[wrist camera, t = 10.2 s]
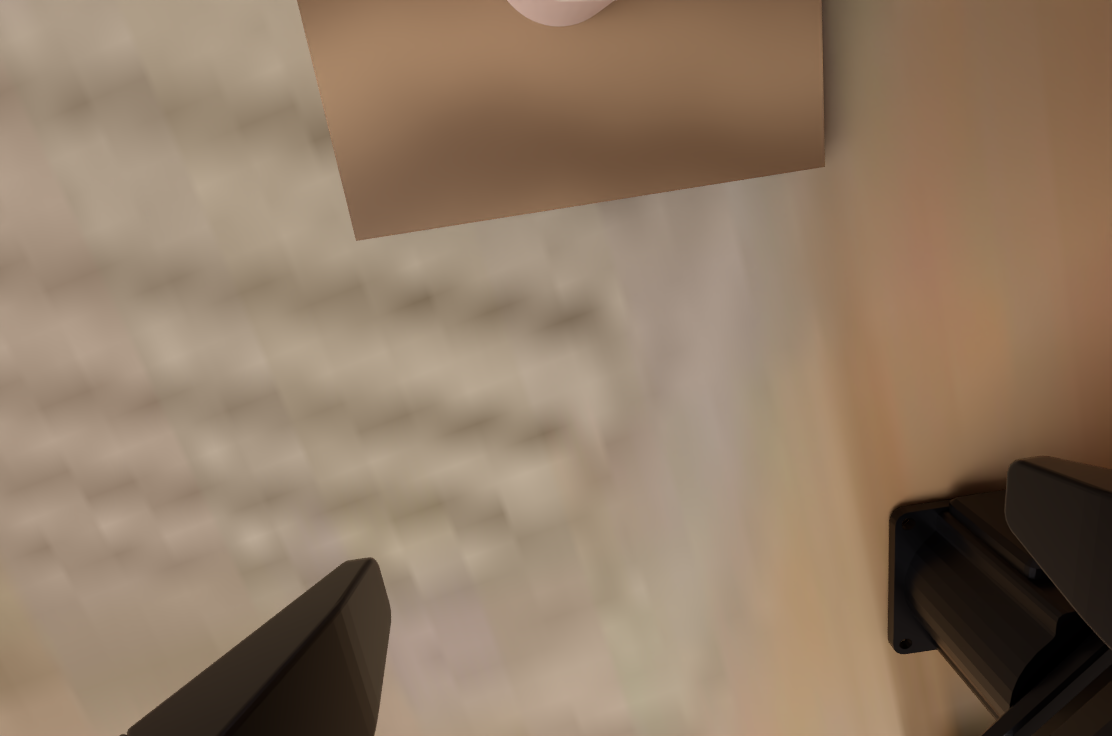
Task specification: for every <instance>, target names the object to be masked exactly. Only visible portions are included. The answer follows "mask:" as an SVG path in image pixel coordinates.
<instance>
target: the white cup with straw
mask: <svg viewBox="0 0 1112 736" xmlns="http://www.w3.org/2000/svg"><path fill="white" fill-rule="evenodd" d="M507 1H508V2H509V3H510V4H511V5H512V6H513V7H514V8H515V9H516V10H517V11H518V12H519V13H521V14H522V15H524V16H525V17H527V18H528V19H530V20H532V21H535V22H537V23H540V24H543V25H548V26H557V27H561V26H570V25H574V24H578V23H581V22H583V21H585V20H587V19H589V18H591V17H592V16H594V15H596V14H597V13H598V12H600V11H601V10H602V9H604V8H605V7H606V6H608V5H609V4H610V3H612V2H613V1H614V0H507Z"/></svg>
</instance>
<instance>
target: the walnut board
mask: <svg viewBox="0 0 1112 736" xmlns="http://www.w3.org/2000/svg"><path fill="white" fill-rule="evenodd" d="M297 2H298V6H299V10H300V14H301V18H302V22H303V26H304V30H305V34H306V38H307V43H308V47H309V51H310V55H311V59H312V63H313V67H314V71H315V75H316V79H317V83H318V87H319V91H320V95H321V100H322V104H323V108H324V112H325V116H326V120H327V124H328V128H329V132H330V136H331V140H332V144H333V148H334V152H335V157H336V161H337V165H338V169H339V173H340V177H341V181H342V185H343V189H344V193H345V197H346V201H347V205H348V209H349V214H350V218H351V222H352V226H353V230H354V234H355V238H356V241H358V240H364V239H370V238H377V237H383V236H389V235H396V234H402V233H408V232H415V231H421V230H427V229H433V228H440V227H446V226H452V225H459V224H465V223H471V222H478V221H484V220H490V219H497V218H503V217H509V216H516V215H522V214H528V213H535V212H541V211H547V210H554V209H560V208H566V207H573V206H579V205H585V204H592V203H598V202H604V201H611V200H617V199H623V198H630V197H636V196H642V195H649V194H655V193H661V192H668V191H674V190H680V189H687V188H693V187H699V186H706V185H712V184H718V183H725V182H731V181H737V180H744V179H750V178H756V177H763V176H769V175H775V174H782V173H788V172H794V171H800V170H807V169H813V168H819V167H825V149H824V97H823V46H822V0H614V1H613V2H612V3H610V4H609V5H608V6H606V7H605V8H604V9H602V10H601V11H600V12H598V13H597V14H596V15H594V16H592V17H591V18H589V19H587V20H585V21H583V22H581V23H578V24H574V25H570V26H561V27H557V26H548V25H543V24H540V23H537V22H535V21H532V20H530V19H528V18H527V17H525V16H524V15H522V14H521V13H519V12H518V11H517V10H516V9H515V8H514V7H513V6H512V5H511V4H510V3H509V2H508V1H507V0H297Z"/></svg>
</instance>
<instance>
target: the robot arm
mask: <svg viewBox="0 0 1112 736" xmlns="http://www.w3.org/2000/svg"><path fill="white" fill-rule="evenodd" d="M907 518H909V520H908V521H907V522H906V523H905V524H902V522H903V521H904V520H905V519H907ZM390 626H391V609H390V604H389V600H388V596H387V593H386V589H385V586H384V582H383V578H382V575H381V571H380V568H379V565H378V563H377V561H376V560H375V559H374V558H362V559H355V560H348V561H346V562H344V563H342V564H341V565H340V566H338V567H337V568H336V569H335V570H333V571H332V572H331V573H329V574H328V575H327V576H326V577H324V578H323V579H322V580H320V581H319V582H318V583H316V584H315V585H314V586H313V587H311V588H310V589H309V590H307V591H306V592H305V593H304V594H302V595H301V596H300V597H298V598H297V599H296V600H294V601H293V602H292V603H291V604H289V605H288V606H287V607H285V608H284V609H283V610H282V611H280V612H279V613H278V614H276V615H275V616H274V617H272V618H271V619H270V620H269V621H267V622H266V623H265V624H263V625H262V626H261V627H260V628H258V629H257V630H256V631H254V632H253V633H252V634H251V635H249V636H248V637H247V638H245V639H244V640H243V641H241V642H240V643H239V644H238V645H236V646H235V647H234V648H232V649H231V650H230V651H229V652H227V653H226V654H225V655H223V656H222V657H221V658H219V659H218V660H217V661H216V662H214V663H213V664H212V665H210V666H209V667H208V668H207V669H205V670H204V671H203V672H201V673H200V674H199V675H198V676H196V677H195V678H194V679H192V680H191V681H190V682H188V683H187V684H186V685H185V686H183V687H182V688H181V689H179V690H178V691H177V692H176V693H174V694H173V695H172V696H170V697H169V698H168V699H166V700H165V701H164V702H163V703H161V704H160V705H159V706H157V707H156V708H155V709H154V710H152V711H151V712H150V713H148V714H147V715H146V716H144V717H143V718H142V719H141V720H139V721H138V722H137V723H135V724H134V725H133V726H132V727H130V728H129V729H128V731H127V735H126V734H121V735H120V736H374V734H375V730H376V725H377V719H378V713H379V707H380V699H381V692H382V684H383V677H384V670H385V662H386V655H387V648H388V640H389V633H390ZM904 639H905V640H904ZM902 640H904V641H902ZM888 641H889V643H890V645H891V646H892V647H893V649H894V650H895V651H896V652H897V653H900V654H909V653H916V652H923V651H930V650H938V651H939V652H940V653H941V655H942V656H943V657H944V658H945V659H946V661H947V662H948V663H949V664H950V665H951V667H952V668H953V669H954V670H955V671H956V673H957V674H958V675H959V676H960V677H961V679H962V680H963V681H964V682H965V683H966V685H967V686H968V687H969V688H970V689H971V691H972V692H973V693H974V694H975V695H976V697H977V698H978V699H979V700H980V701H981V703H982V704H983V705H984V706H985V707H986V709H987V710H988V711H989V712H990V713H991V715H992V716H993V717H994V718H995V719H996V721H995V722H994V723H993V724H992V725H991V726H990V727H989V728H988V729H987V730H985V731H984V732H983V733H982V734H981V735H980V736H1112V470H1111V469H1107V468H1102V467H1097V466H1092V465H1087V464H1083V463H1078V462H1073V461H1068V460H1063V459H1059V458H1054V457H1049V456H1036V457H1030V458H1023V459H1018V460H1015V461H1013V462H1012V463H1011V464H1010V466H1009V468H1008V472H1007V484H1006V490H1002V491H995V492H988V493H981V494H975V495H968V496H961V497H956V498H954V499H951V500H945V501H938V502H931V503H924V504H918V505H911V506H904V507H900V508H898V509H896V510H895V511H893V513H892V514H891V516H890V520H889V592H888ZM901 641H902V642H901Z"/></svg>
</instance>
